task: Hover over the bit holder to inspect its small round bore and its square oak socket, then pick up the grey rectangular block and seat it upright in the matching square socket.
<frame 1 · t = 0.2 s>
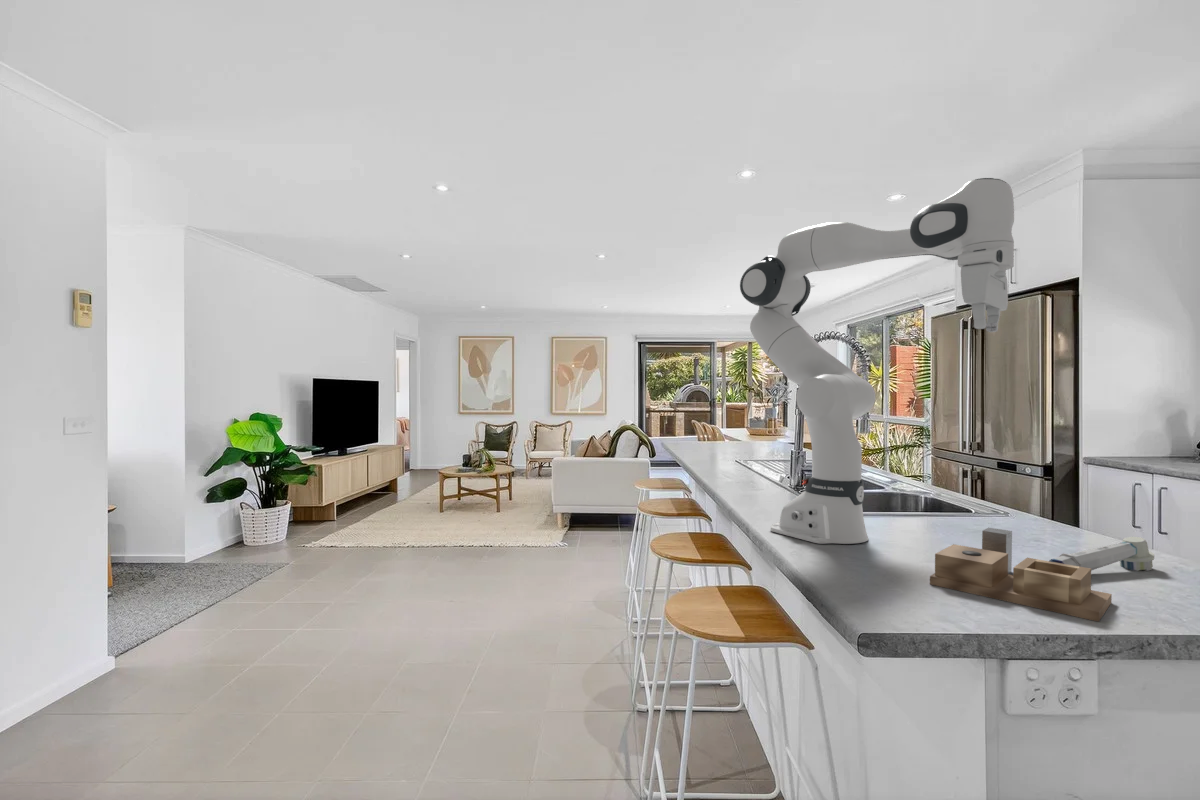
hand: (986, 330, 121), 47 cm above the countertop, tool pointing down, fingers open, 8 cm apart
grey rectangular block: (996, 571, 118), on the countertop
white elongated piece: (1101, 574, 118), on the countertop
bit holder: (1016, 593, 106), on the countertop
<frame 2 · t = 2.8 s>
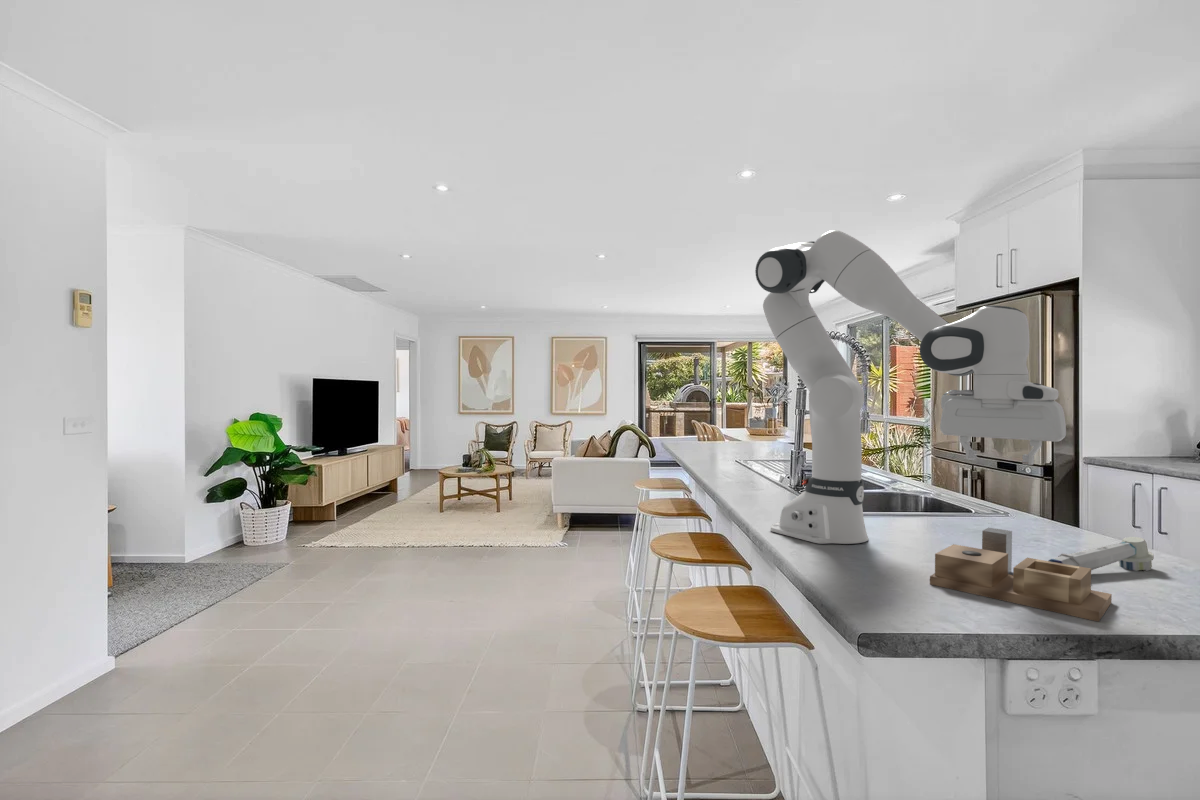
hand: (998, 461, 117), 22 cm above the countertop, tool pointing down, fingers open, 8 cm apart
nothing on the countertop moved.
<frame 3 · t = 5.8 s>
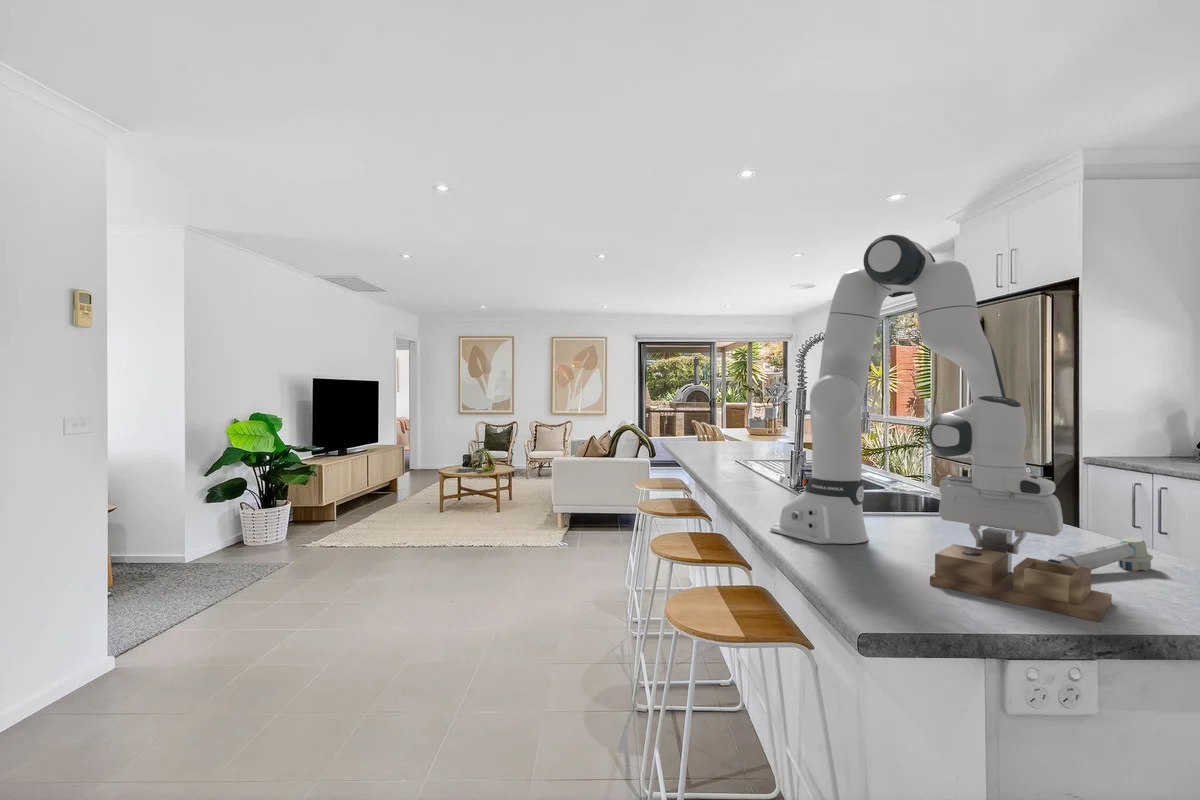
hand: (997, 550, 118), 4 cm above the countertop, tool pointing down, fingers closed on grey rectangular block, 4 cm apart
grey rectangular block: (996, 571, 118), on the countertop, touching gripper
everything else where it was.
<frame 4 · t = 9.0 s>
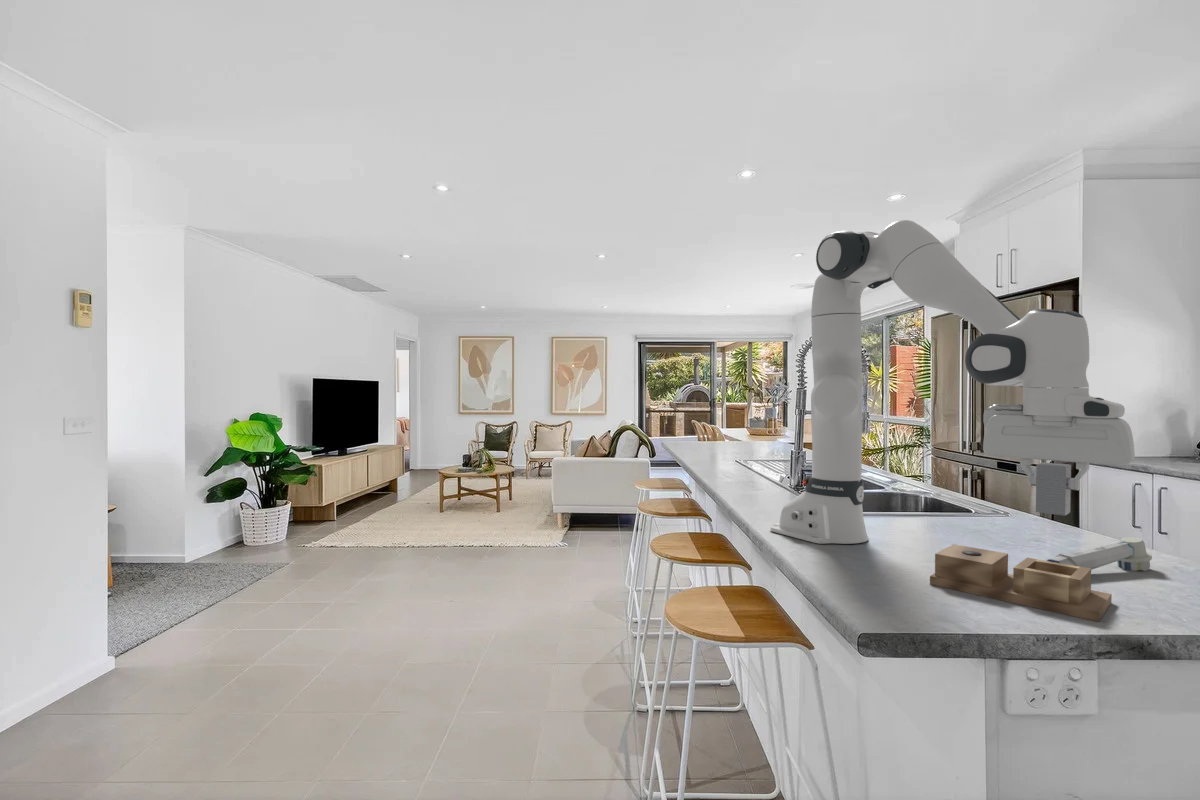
hand: (1053, 487, 102), 19 cm above the countertop, tool pointing down, fingers closed on grey rectangular block, 4 cm apart
grey rectangular block: (1052, 512, 102), point 15 cm above the countertop, touching gripper
everything else where it was.
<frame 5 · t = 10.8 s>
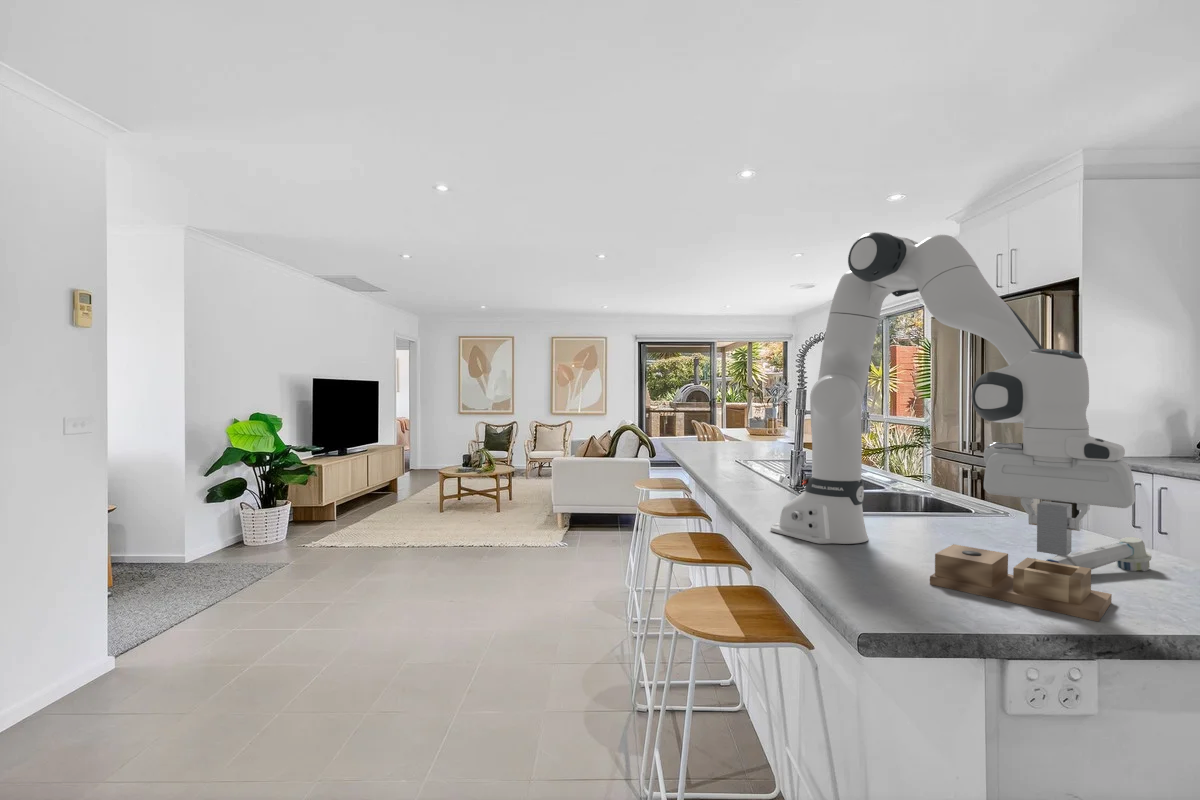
hand: (1054, 527, 102), 12 cm above the countertop, tool pointing down, fingers closed on grey rectangular block, 4 cm apart
grey rectangular block: (1054, 551, 102), point 8 cm above the countertop, touching gripper
everything else where it was.
when the fingers open (7 cm above the countertop, at t = 12.4 s): grey rectangular block drops 1 cm, resting on bit holder.
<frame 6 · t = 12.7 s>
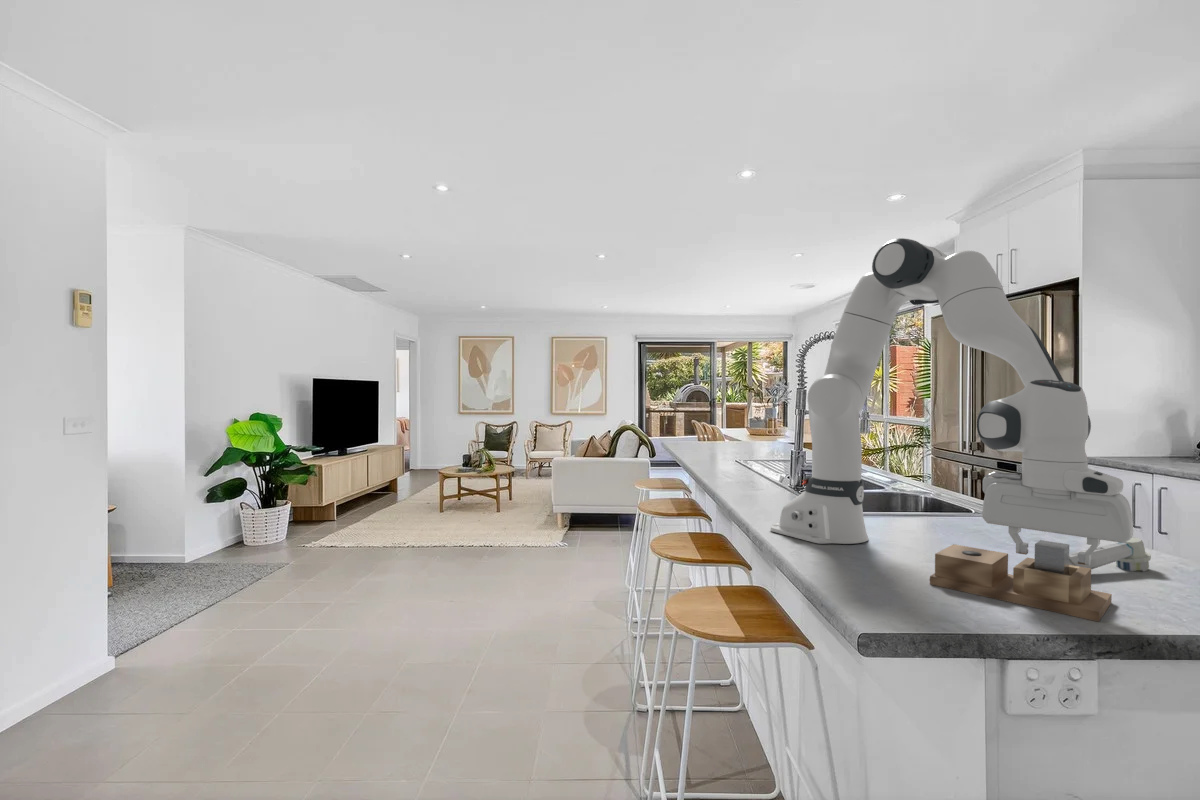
hand: (1052, 558, 102), 7 cm above the countertop, tool pointing down, fingers open, 7 cm apart
grey rectangular block: (1051, 591, 102), point 1 cm above the countertop, touching bit holder
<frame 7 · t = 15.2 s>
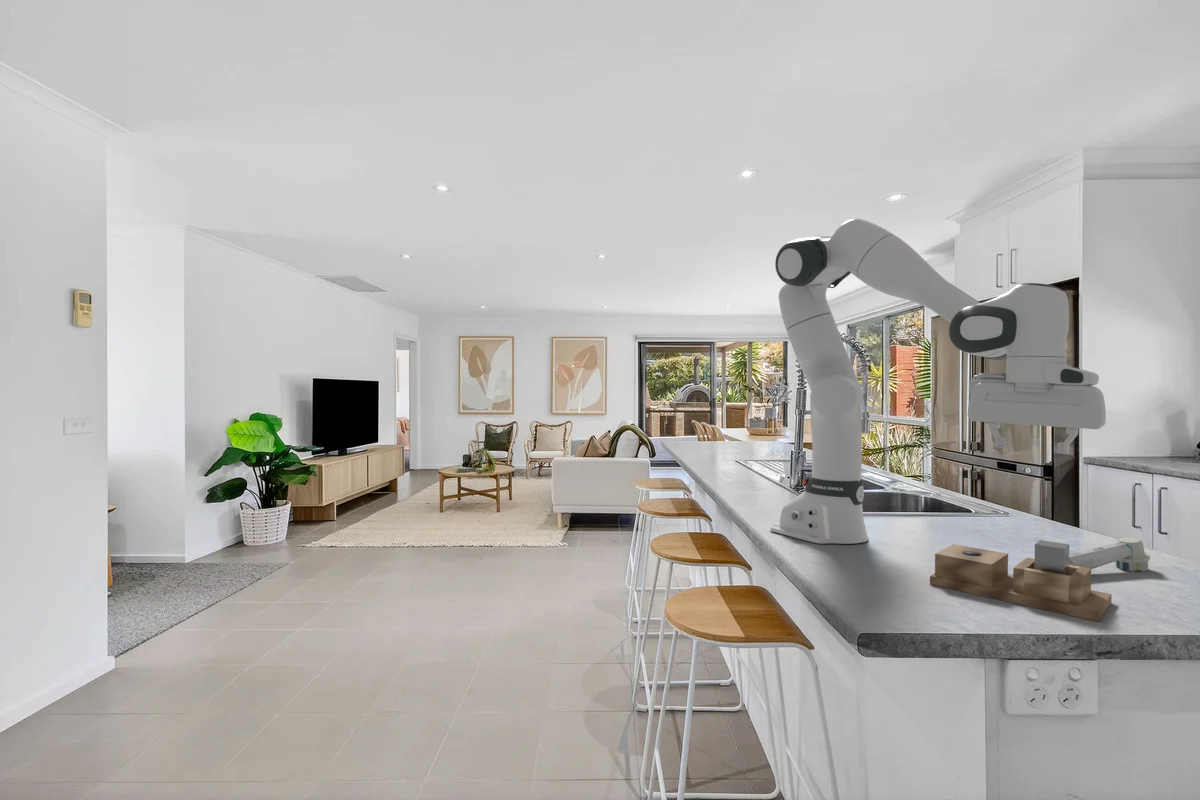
hand: (1030, 450, 109), 25 cm above the countertop, tool pointing down, fingers open, 8 cm apart
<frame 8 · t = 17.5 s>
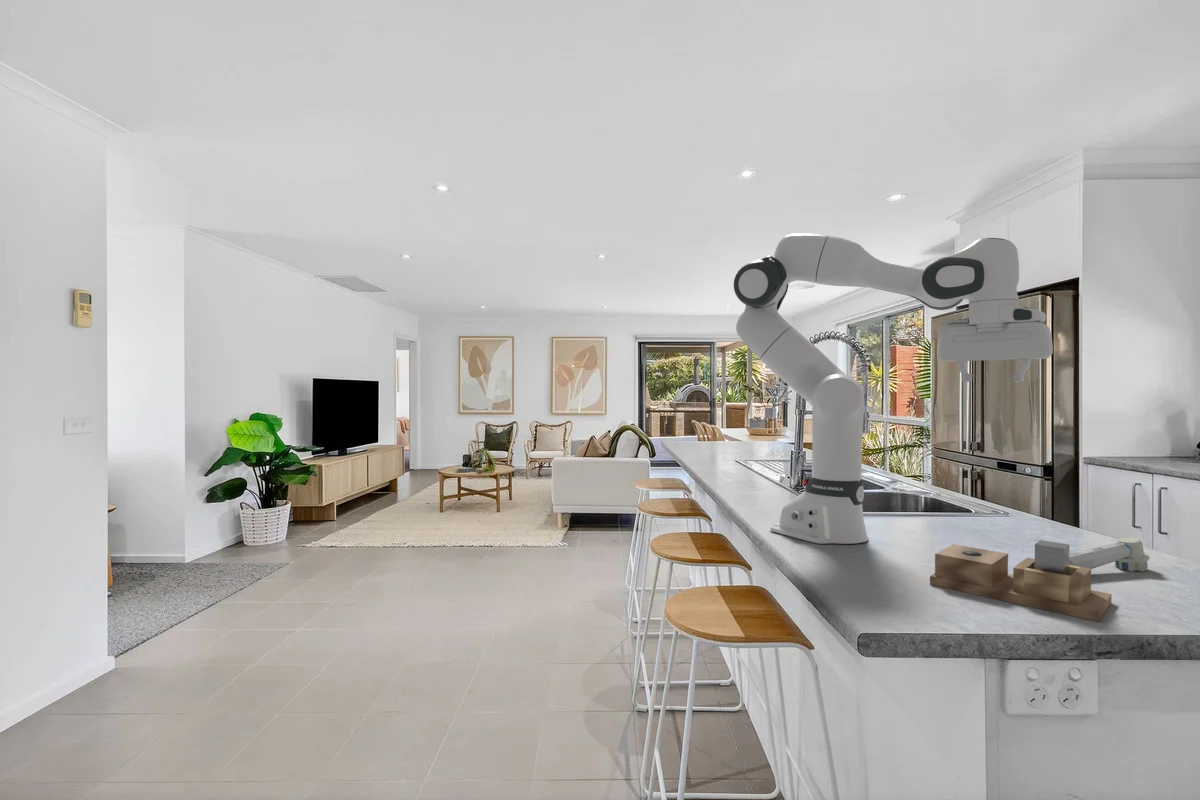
hand: (992, 381, 128), 37 cm above the countertop, tool pointing down, fingers open, 8 cm apart
at the end: grey rectangular block 0.1 cm from the target spot on the bit holder, point 1.5 cm above the bit holder's base; grey rectangular block tilted 0°; the gripper is holding nothing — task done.
